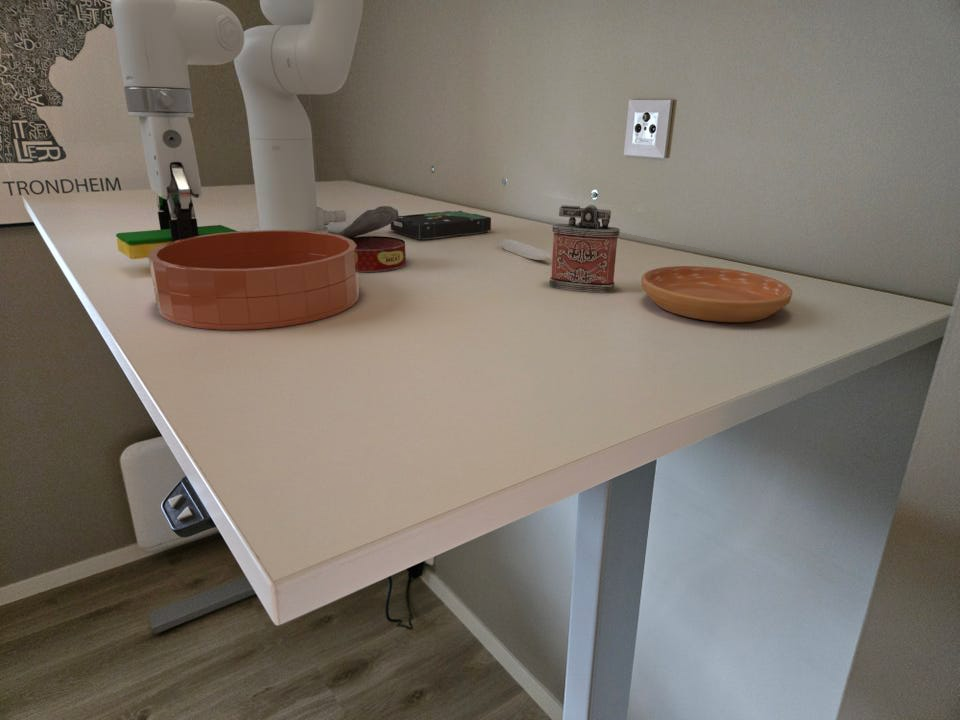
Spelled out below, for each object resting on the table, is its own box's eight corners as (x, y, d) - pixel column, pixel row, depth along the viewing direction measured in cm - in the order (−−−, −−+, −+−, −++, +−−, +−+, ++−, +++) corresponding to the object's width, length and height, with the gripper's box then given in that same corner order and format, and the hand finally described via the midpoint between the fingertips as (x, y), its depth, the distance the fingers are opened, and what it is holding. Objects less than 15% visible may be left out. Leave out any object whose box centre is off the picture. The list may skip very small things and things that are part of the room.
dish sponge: (241, 248, 89) (239, 230, 89) (131, 260, 81) (127, 240, 80) (223, 241, 95) (221, 224, 94) (118, 251, 86) (115, 232, 86)
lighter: (615, 287, 81) (623, 205, 77) (611, 294, 78) (619, 209, 75) (552, 281, 84) (557, 201, 80) (546, 287, 81) (550, 205, 77)
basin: (319, 268, 88) (315, 224, 86) (390, 308, 71) (388, 254, 69) (143, 291, 77) (134, 240, 75) (180, 344, 60) (170, 281, 58)
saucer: (738, 286, 82) (742, 263, 81) (820, 325, 68) (826, 298, 67) (618, 290, 80) (620, 266, 79) (676, 332, 65) (680, 303, 64)
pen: (545, 266, 91) (546, 254, 91) (498, 247, 103) (498, 237, 102) (555, 265, 92) (555, 253, 91) (507, 246, 103) (507, 236, 103)
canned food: (353, 304, 88) (313, 243, 83) (351, 278, 97) (314, 221, 92) (426, 265, 88) (390, 200, 83) (417, 242, 97) (384, 183, 92)
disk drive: (420, 242, 107) (492, 232, 115) (420, 225, 106) (492, 216, 114) (389, 232, 114) (458, 223, 123) (388, 216, 113) (458, 208, 122)
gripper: (207, 105, 77) (226, 253, 83) (178, 105, 90) (196, 233, 96) (137, 103, 73) (162, 259, 79) (118, 104, 86) (140, 237, 93)
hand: (180, 244), depth 88 cm, fingers closed on dish sponge, 7 cm apart
